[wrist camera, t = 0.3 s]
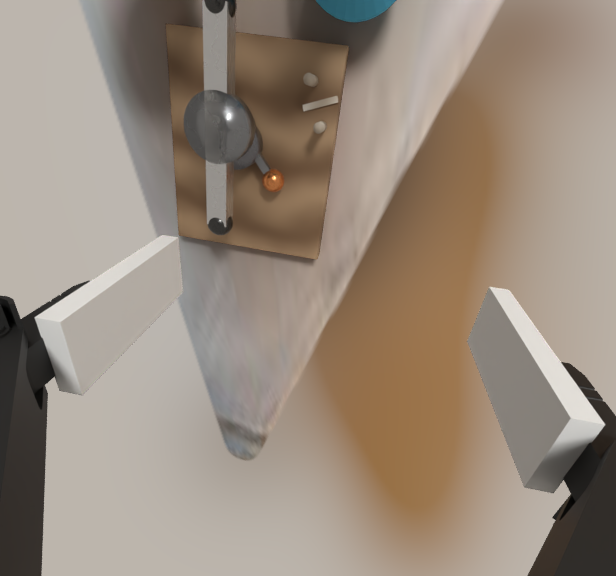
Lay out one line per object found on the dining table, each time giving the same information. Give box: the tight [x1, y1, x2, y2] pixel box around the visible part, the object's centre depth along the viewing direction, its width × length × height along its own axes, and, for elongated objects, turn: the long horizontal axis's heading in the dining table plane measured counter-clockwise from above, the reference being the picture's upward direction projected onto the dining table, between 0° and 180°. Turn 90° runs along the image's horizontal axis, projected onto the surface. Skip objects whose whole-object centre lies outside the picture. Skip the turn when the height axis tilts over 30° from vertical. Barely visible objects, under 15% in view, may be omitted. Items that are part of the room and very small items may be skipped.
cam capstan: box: [184, 0, 284, 235], centre depth 34 cm, size 21×8×7 cm, turn 173°
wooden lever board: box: [166, 24, 349, 259], centre depth 38 cm, size 22×18×5 cm
